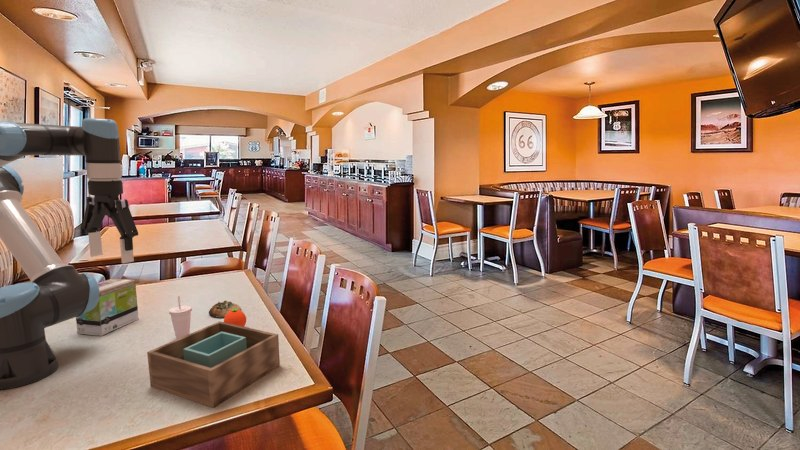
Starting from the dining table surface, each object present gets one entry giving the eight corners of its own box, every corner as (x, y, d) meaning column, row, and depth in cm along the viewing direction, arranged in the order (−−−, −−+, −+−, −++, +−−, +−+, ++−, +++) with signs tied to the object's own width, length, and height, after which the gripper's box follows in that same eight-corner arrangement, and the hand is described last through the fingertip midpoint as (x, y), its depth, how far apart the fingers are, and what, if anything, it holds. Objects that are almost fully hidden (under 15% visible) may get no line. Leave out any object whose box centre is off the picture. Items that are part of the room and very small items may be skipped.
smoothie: (169, 343, 131) (165, 299, 129) (174, 335, 137) (170, 293, 135) (192, 341, 133) (188, 297, 130) (195, 333, 139) (192, 291, 137)
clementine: (224, 327, 143) (222, 307, 142) (245, 324, 146) (244, 304, 145) (224, 336, 136) (223, 314, 135) (247, 332, 139) (246, 311, 138)
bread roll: (205, 311, 158) (206, 298, 157) (236, 309, 165) (237, 296, 164) (212, 322, 149) (213, 308, 149) (245, 319, 156) (246, 305, 155)
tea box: (103, 336, 136) (97, 292, 134) (76, 334, 138) (71, 290, 136) (140, 319, 151) (135, 278, 149) (115, 317, 153) (111, 277, 151)
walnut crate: (213, 407, 97) (210, 370, 96) (150, 386, 107) (147, 352, 105) (279, 365, 117) (278, 334, 115) (221, 350, 126) (219, 321, 125)
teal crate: (211, 386, 104) (208, 356, 103) (185, 378, 108) (183, 349, 107) (247, 365, 115) (246, 337, 114) (223, 358, 119) (221, 331, 118)
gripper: (150, 181, 110) (155, 262, 113) (91, 176, 120) (98, 250, 124) (120, 183, 103) (127, 268, 106) (61, 177, 113) (69, 255, 117)
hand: (111, 258), depth 115 cm, fingers open, 13 cm apart
